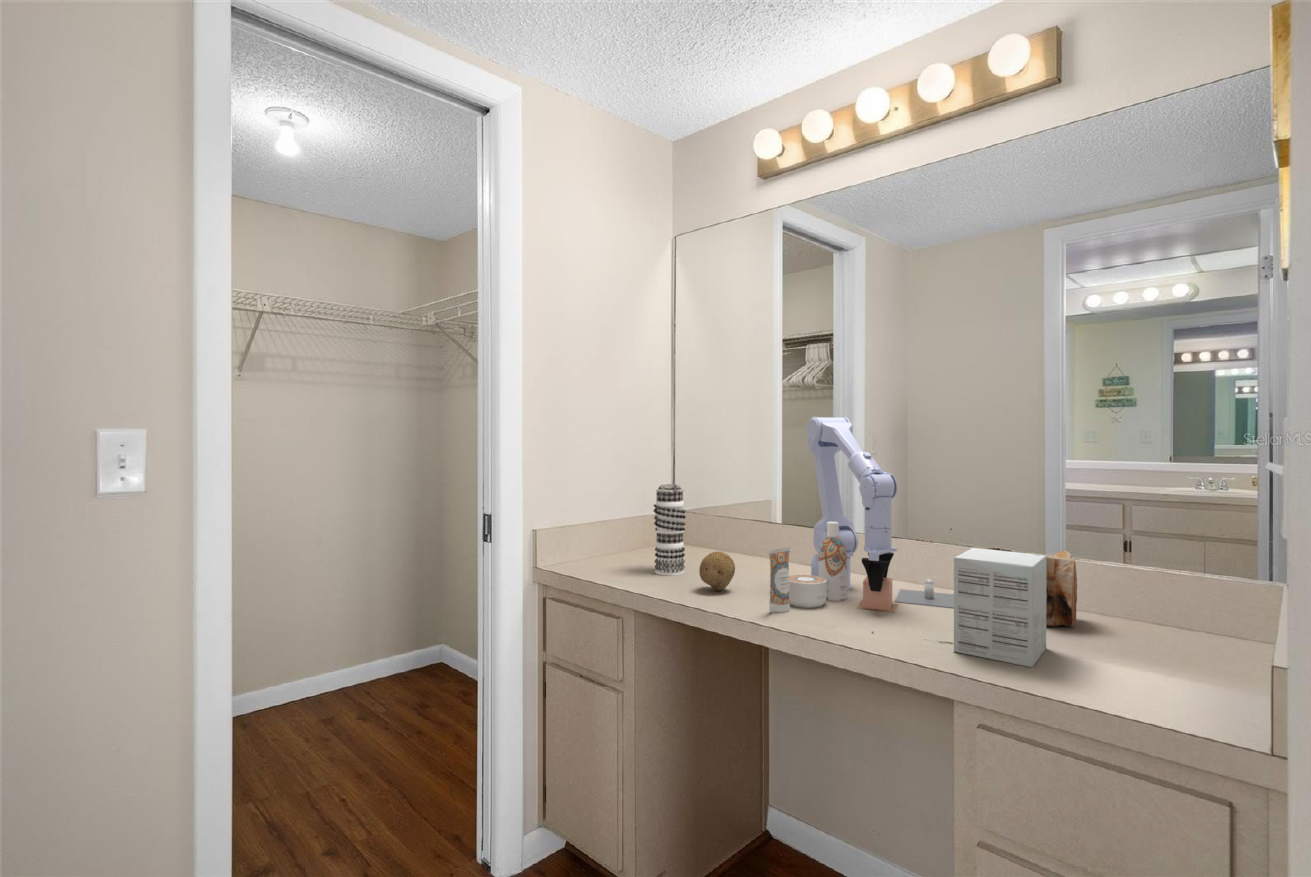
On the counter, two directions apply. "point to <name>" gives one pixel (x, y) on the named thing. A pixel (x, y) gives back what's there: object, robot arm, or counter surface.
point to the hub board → (923, 601)
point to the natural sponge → (717, 570)
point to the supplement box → (1000, 605)
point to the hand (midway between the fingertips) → (878, 587)
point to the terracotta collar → (878, 595)
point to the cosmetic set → (809, 576)
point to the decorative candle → (669, 530)
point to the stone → (1061, 590)
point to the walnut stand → (892, 610)
